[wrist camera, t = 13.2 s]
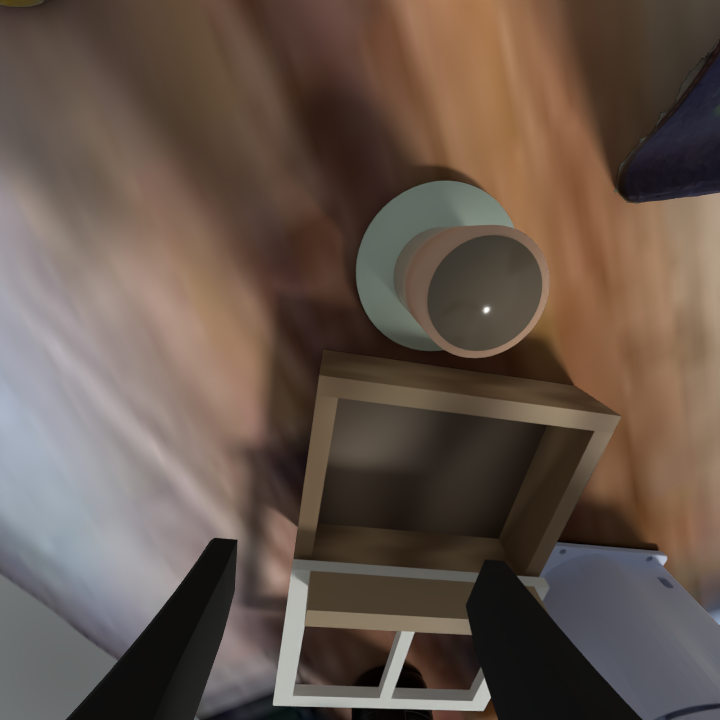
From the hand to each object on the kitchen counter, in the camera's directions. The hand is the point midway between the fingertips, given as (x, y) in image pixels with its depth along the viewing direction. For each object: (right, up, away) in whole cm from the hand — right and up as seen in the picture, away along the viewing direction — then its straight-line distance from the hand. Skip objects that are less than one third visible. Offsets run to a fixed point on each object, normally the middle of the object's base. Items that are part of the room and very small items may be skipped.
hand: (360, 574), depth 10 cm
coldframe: (+4, 0, +12) cm, 12 cm away
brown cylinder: (+4, +10, +7) cm, 13 cm away
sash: (+3, -12, +12) cm, 17 cm away
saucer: (+4, +11, +7) cm, 13 cm away
